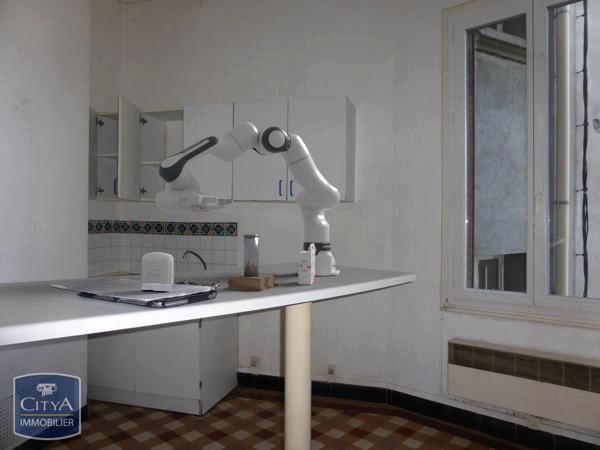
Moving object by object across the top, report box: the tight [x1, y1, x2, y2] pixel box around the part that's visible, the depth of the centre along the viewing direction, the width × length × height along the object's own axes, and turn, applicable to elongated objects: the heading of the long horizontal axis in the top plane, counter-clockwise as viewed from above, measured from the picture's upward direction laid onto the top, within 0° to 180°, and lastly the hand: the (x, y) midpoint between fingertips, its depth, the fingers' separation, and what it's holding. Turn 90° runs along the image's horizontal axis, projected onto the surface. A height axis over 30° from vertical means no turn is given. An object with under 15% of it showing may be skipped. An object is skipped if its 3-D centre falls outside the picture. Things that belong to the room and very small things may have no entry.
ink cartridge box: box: [297, 244, 316, 286], centre depth 160 cm, size 9×5×15 cm, turn 168°
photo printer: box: [140, 251, 175, 285], centre depth 136 cm, size 10×4×12 cm, turn 78°
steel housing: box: [243, 234, 260, 277], centre depth 145 cm, size 5×5×14 cm
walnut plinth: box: [227, 273, 275, 292], centre depth 145 cm, size 10×12×4 cm
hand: (225, 200), depth 156 cm, fingers open, 8 cm apart
